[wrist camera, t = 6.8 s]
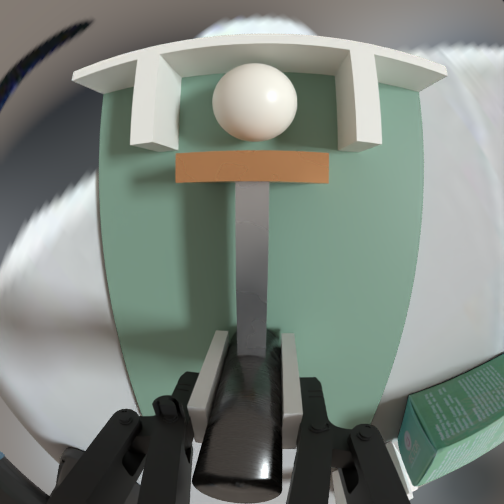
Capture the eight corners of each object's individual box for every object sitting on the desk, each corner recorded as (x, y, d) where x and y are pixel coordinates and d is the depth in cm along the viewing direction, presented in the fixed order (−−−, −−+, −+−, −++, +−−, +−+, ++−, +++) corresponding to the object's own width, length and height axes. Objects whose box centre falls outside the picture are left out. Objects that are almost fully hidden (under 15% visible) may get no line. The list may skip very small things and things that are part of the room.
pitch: (149, 421, 21) (133, 452, 17) (110, 89, 14) (73, 71, 10) (362, 431, 19) (371, 465, 15) (412, 87, 13) (445, 66, 9)
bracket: (330, 465, 21) (337, 520, 14) (390, 439, 20) (409, 493, 13) (365, 492, 23) (373, 531, 16) (411, 471, 22) (425, 509, 15)
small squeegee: (209, 363, 17) (165, 491, 7) (200, 161, 14) (80, 129, 4) (300, 367, 17) (313, 503, 7) (313, 161, 14) (394, 117, 4)
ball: (198, 79, 9) (216, 57, 11) (211, 159, 12) (223, 120, 14) (303, 77, 9) (294, 56, 11) (298, 158, 12) (293, 120, 14)
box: (403, 394, 18) (434, 456, 11) (506, 348, 17) (544, 385, 10) (392, 439, 20) (411, 493, 13) (488, 396, 18) (516, 433, 11)
